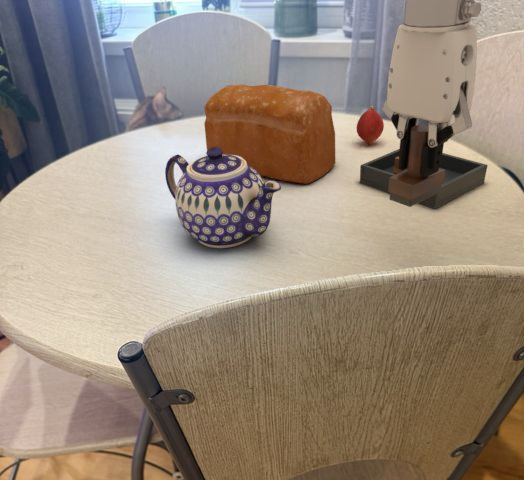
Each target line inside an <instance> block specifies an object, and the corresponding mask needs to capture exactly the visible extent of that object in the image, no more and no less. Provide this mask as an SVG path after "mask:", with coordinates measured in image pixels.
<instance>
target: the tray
mask: <svg viewBox="0 0 524 480" xmlns="http://www.w3.org/2000/svg"><path fill="white" fill-rule="evenodd" d="M399 149H400V148H398V149H395V150H393V151H391V152H388V153H386V154H384V155H381V156H379V157H376V158H374V159H371V160H369V161H367V162H365V163H363V164H360V168H359V169H360V170H359V171H360V172H359V183H360V184H363V185H366V186H368V187H371V188H373V189H376V190H380V191H381V192H385V193H388V194H390V192H388V188H389V178H390V177H392V176H394V175H396V174H395V173H394V165H395V158H396V157H398V156H399ZM439 168H441V169H444V170H446V171H445V178H444V184H442V185H441V190H440V192H439V193H437V194H435V195H433V196H431V197H429V198H427V199H425V200H423V201H421V202H419V203H418V204H419V205H423V206H425V207H428V208H431V209H434V210H436V209H439V207H441V206H443V205H445V204H447V203H449V202H451V201H453V200H455V199H457V198H459V197H461V196H463V195H464V194H466V193H469V192H470V191H472V190H474V189H476V188H477V187H480V186H482V185H483V184H485V179H486V175H487V171H488V164H485V163H482V162H478V161H474V160H471V159H467V158H464V157H459V156H456V155H453V154H448V153H444V152H443V153H442V160H441V165H440V167H439Z"/></svg>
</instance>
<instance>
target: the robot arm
mask: <svg viewBox="0 0 524 480" xmlns="http://www.w3.org/2000/svg"><path fill="white" fill-rule="evenodd" d="M481 10H482V3H480V2H476V1H475V0H403V10H402V24H400V25H399V26H398V28H397V32H396V36H395V39H394V43H393V48H392V52H391V58H390V64H389V70H388V79H387V81H388V82H387V91H386V99H385V101H384V103H383V105H382V108H381V110H382V113H384V115H386V116H387V118H389V119H390V120H391V123H392V125H393V127H394V129H395V130H396V137H397V139H398V140H400V141H399V148H398V149H399V165H398V169H400V170H404V169H406V168H407V163H408V153H409V143H410V134H411V128H412V127H413V126H416V125H419V121H420V120H423V121H428V125H429V130H428V145H427V146H425V147H424V148H423V155H422V164H421V172H420V175H421V176H422V177H427V176H429V175H431V174H434V173H436V172H438V170H439V167H440V165H441V160H442V153H444V147H445V146H444V144H445V143H447V142H449V140H450V139H451V138H452V137H454V136H455V135H457V134H459V133H462V132H464V131H467V130H469V129H471V128H472V127H473V121H472V118H471V113H470V111H471V110H472V106H473V100H474V92H475V83H476V75H477V74H476V73H477V59H478V57H477V56H478V40H477V39H478V38H477V27H476V25H473V24H471V21H472V18H477V17H479V15H480V14H481ZM453 116H454V122H453V123H452V124H451V120H452V118H453Z"/></svg>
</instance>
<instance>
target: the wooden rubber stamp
mask: <svg viewBox="0 0 524 480" xmlns="http://www.w3.org/2000/svg"><path fill="white" fill-rule="evenodd" d="M428 130H429V124H418V125H416V126H413V127H412V128H411V134H410V143H409V153H408V163H407V170H405V171H403V172H401V173H399V174H396V175H394V176H392V177H390V178H389V188H388V192H390V193H389V200H390V201H392V202H395V203H398V204H400V205H403V206H406V207H409V208H412V207H413V206H415V205H418V204H419V202H421V201H423V200H425V199H427V198H429V197H431V196H433V195H435V194H437V193H439V192H440V190H441V185H442V184H444V178H445V171H446V170H444V169H441V168H439V170H438V172H436V173H434V174H431V175H429V176H427V177H422V176H421V175H420V172H421V164H422V155H423V148H424V147H425V146H427V145H428ZM388 192H387V193H388Z"/></svg>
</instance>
